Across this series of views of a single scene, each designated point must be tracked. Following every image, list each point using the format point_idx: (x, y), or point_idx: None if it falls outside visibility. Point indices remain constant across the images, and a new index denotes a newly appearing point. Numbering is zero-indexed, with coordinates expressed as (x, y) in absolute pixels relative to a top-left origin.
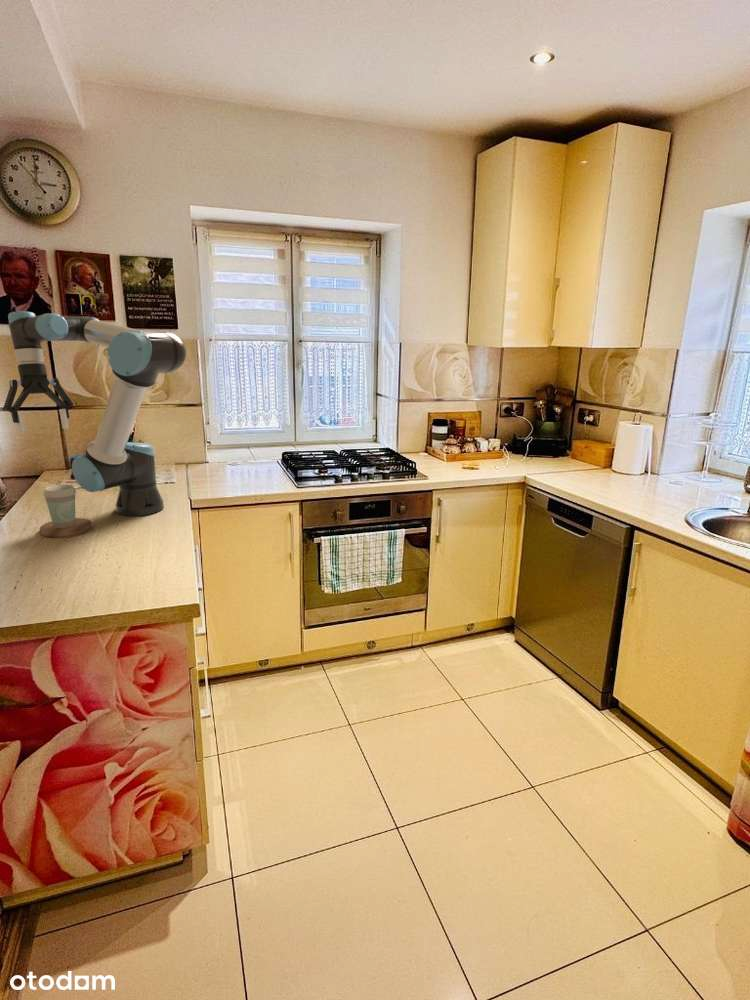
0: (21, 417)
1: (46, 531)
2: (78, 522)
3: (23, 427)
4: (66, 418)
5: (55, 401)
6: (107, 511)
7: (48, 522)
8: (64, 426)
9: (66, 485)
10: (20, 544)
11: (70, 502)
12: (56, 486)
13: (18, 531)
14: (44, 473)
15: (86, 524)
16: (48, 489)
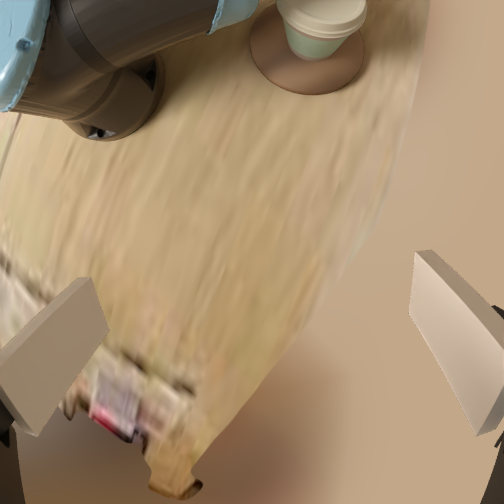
0: (484, 323)
1: (356, 34)
2: (278, 40)
3: (437, 272)
4: (36, 318)
5: (5, 486)
6: (172, 119)
7: (332, 88)
8: (90, 310)
9: (294, 5)
10: (405, 37)
11: None
12: (324, 14)
13: (390, 115)
14: (183, 488)
15: (269, 17)
16: (355, 2)
